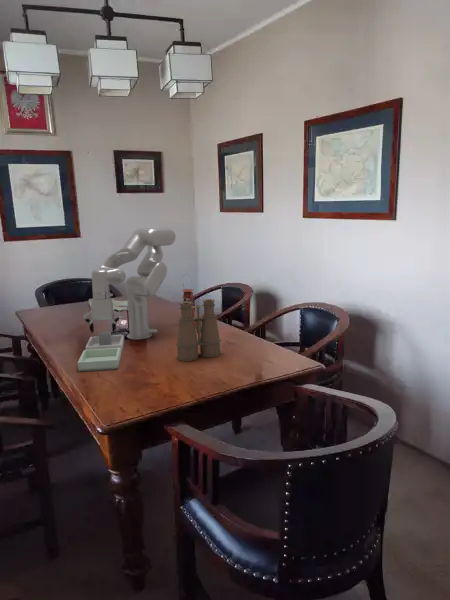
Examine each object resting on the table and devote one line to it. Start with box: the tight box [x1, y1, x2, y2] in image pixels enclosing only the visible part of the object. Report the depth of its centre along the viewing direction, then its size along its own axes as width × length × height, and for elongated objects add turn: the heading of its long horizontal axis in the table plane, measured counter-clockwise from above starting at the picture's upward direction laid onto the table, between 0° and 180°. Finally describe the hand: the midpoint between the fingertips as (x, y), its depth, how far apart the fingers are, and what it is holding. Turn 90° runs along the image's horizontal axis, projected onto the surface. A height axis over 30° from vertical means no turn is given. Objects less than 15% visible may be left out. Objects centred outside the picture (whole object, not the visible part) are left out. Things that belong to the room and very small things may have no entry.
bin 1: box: [85, 334, 125, 353], centre depth 210 cm, size 16×16×4 cm
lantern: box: [182, 273, 197, 328], centre depth 244 cm, size 10×10×30 cm
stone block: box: [98, 330, 112, 346], centre depth 210 cm, size 5×5×7 cm
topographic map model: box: [88, 298, 128, 313], centre depth 296 cm, size 36×29×5 cm
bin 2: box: [77, 348, 122, 373], centre depth 191 cm, size 16×16×4 cm
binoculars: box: [175, 298, 222, 362], centre depth 196 cm, size 21×10×25 cm, turn 113°
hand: (103, 331), depth 208 cm, fingers open, 9 cm apart
